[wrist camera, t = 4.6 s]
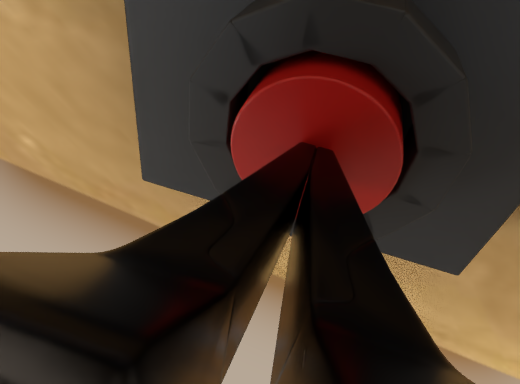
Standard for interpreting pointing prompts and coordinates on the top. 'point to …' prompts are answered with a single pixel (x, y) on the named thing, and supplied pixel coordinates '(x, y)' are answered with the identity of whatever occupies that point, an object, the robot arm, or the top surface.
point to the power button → (325, 121)
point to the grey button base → (359, 49)
